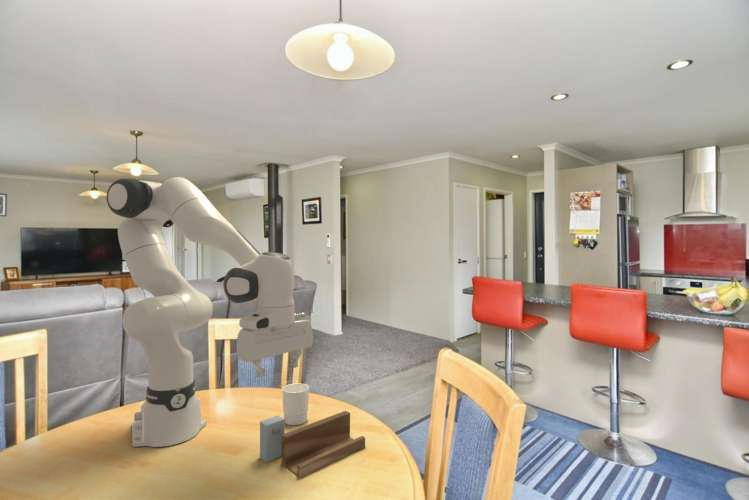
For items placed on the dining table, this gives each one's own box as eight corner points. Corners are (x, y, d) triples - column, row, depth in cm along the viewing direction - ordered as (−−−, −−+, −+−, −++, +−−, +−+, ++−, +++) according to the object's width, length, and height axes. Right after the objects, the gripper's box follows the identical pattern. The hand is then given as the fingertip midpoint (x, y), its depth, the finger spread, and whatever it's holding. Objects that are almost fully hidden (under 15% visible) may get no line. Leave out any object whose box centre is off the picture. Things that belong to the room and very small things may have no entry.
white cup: (303, 427, 113) (303, 393, 113) (277, 425, 114) (277, 391, 114) (312, 416, 120) (312, 384, 120) (288, 413, 122) (289, 382, 122)
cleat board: (281, 463, 94) (281, 434, 94) (345, 435, 108) (345, 410, 108) (300, 477, 88) (300, 447, 88) (365, 446, 102) (365, 420, 102)
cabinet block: (259, 457, 97) (260, 421, 97) (277, 450, 100) (277, 415, 100) (267, 463, 94) (267, 426, 94) (285, 455, 98) (285, 420, 98)
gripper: (303, 310, 107) (304, 360, 107) (232, 321, 93) (234, 379, 93) (317, 312, 103) (318, 364, 103) (245, 324, 88) (247, 385, 88)
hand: (278, 371), depth 98 cm, fingers open, 8 cm apart
